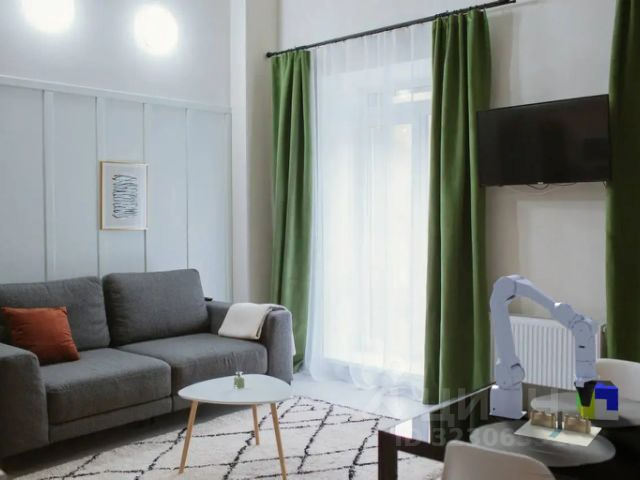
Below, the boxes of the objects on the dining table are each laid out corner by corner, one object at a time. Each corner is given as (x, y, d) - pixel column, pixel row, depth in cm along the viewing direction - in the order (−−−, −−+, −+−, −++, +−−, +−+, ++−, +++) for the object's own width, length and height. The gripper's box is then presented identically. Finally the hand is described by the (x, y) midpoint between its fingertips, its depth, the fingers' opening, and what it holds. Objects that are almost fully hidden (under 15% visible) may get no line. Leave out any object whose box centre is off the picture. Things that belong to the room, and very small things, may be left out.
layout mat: (513, 435, 187) (513, 433, 187) (532, 418, 202) (532, 417, 202) (587, 447, 175) (587, 446, 175) (601, 429, 190) (601, 427, 190)
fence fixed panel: (530, 424, 194) (530, 407, 194) (531, 423, 196) (531, 406, 195) (561, 429, 189) (561, 412, 189) (563, 428, 190) (562, 410, 190)
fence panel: (563, 429, 189) (563, 414, 189) (564, 428, 190) (564, 413, 190) (589, 433, 185) (589, 418, 185) (590, 432, 186) (590, 417, 186)
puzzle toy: (618, 421, 197) (618, 388, 197) (583, 420, 199) (583, 387, 199) (610, 411, 207) (610, 380, 207) (577, 410, 209) (577, 379, 209)
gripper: (594, 366, 182) (594, 414, 182) (605, 356, 194) (605, 401, 194) (567, 363, 186) (568, 410, 186) (580, 354, 198) (580, 398, 198)
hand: (585, 406), depth 191 cm, fingers closed
